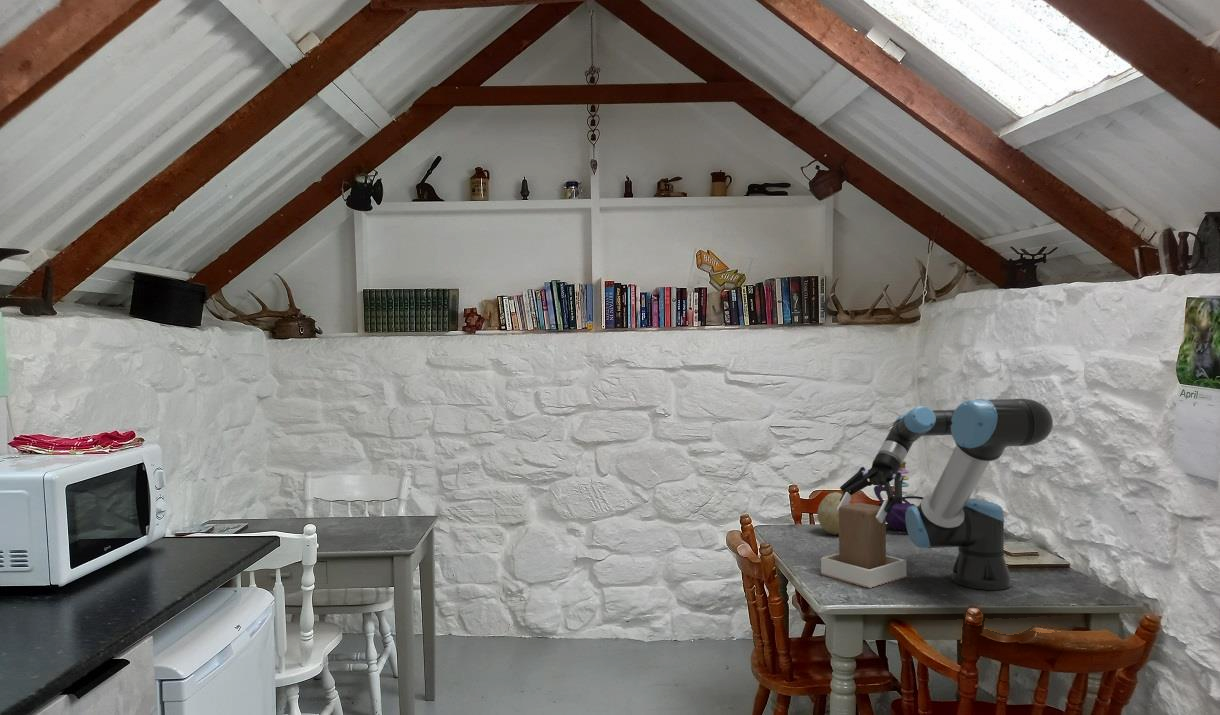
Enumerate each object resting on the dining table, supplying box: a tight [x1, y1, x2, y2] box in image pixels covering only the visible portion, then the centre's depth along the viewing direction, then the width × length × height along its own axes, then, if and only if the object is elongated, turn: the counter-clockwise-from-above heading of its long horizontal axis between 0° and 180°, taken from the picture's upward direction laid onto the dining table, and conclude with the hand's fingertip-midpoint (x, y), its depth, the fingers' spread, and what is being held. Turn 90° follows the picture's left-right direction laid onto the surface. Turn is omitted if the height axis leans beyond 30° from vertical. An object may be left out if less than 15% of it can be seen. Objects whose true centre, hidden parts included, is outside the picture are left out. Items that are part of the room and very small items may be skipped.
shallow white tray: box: [820, 552, 907, 589], centre depth 226 cm, size 17×17×5 cm
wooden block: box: [838, 501, 887, 570], centre depth 226 cm, size 10×10×20 cm
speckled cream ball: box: [817, 491, 852, 536], centre depth 275 cm, size 13×13×15 cm
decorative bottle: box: [873, 460, 925, 532], centre depth 280 cm, size 22×21×25 cm
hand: (858, 516), depth 225 cm, fingers open, 13 cm apart
